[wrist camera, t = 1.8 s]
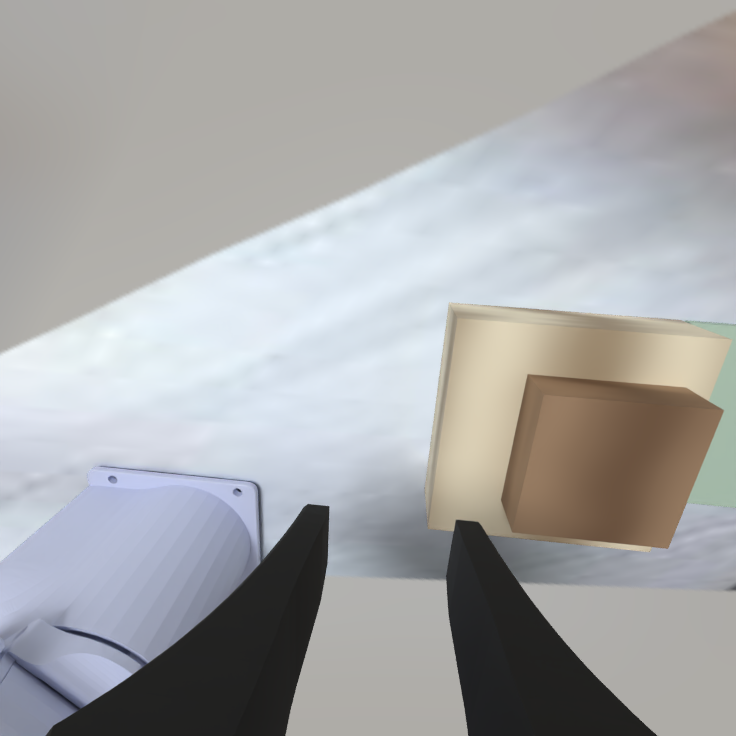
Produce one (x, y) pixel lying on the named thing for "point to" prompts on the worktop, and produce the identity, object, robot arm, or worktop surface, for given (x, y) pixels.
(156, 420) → the worktop surface
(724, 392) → the green mat
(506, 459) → the birch board
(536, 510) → the walnut coaster
